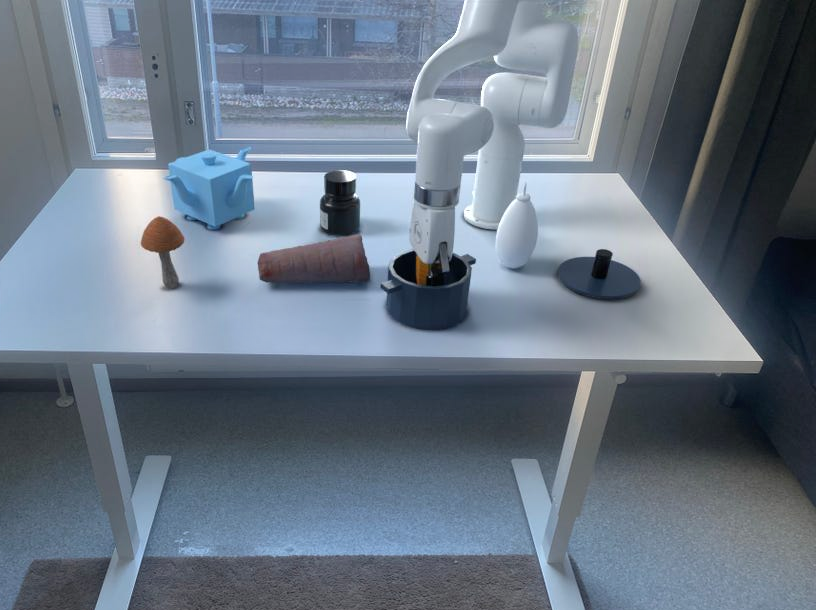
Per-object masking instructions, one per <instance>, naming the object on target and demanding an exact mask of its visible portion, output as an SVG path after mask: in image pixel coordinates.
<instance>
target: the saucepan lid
mask: <svg viewBox="0 0 816 610" xmlns="http://www.w3.org/2000/svg"><path fill="white" fill-rule="evenodd" d="M556 275H557V278H558V280H559V281H560V282H561V283H562V284H563V285H564V286H565V287H567V289H570V290H571V291H573V292H575V293H578V294H580V295H584V296H586V297H590V298H597V299H603V300H604V299H605V300H616V299H617V300H618V299H624V298H627V297H631V296H633V295H634V294H636V293H637V292H638V291H639V290H640V287H641V285H642V284H641V282H642V281H641V278H640V276H639V274H638V273H637V272H636V271H635V270H633V269H632V268H631V267H629V266H627V265H626V264H623V263H622V262H619V261H616V260H613V252H612V251H611V250H609V249H605V248H599V249H597V250H596V251H595V256H578V257H577V256H576V257H572V258H569V259H566V260H564V261H562V262H561V263H560V264H559V265H558V267H557V273H556Z"/></svg>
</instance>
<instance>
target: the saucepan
mask: <svg viewBox="0 0 816 610" xmlns="http://www.w3.org/2000/svg"><path fill="white" fill-rule="evenodd" d="M416 260H417V259H416V252H415V250H414V249H413V248H412V249H408V250H405V251H401V252H399V253H397V254H396V255H395V256H393V257H392V258H391V259H390V261H389V264H388V267H387V268H388V269H387V280H386V281H383V282H381V283H380V289H381V290H382V291H384V292H385V293H386V309H387V312H388V314H389V315H390V316H391V317H392V319H394V320H395V321H396V322H398V323H400V324H402V325H404V326H406V327H409V328H414V329H417V330H418V329H419V330H426V331H428V330H431V331H435V330H443V329H447V328H451V327H453V326H456V325H457V324H459V323H460V322H461V321H463V319H464V318H465V316H466V315H467V310H468V309H467V308H468V301H469V294H470V287H471V278H472V271H473V268H472V266H473V265H475V264H476V263H477V258H475V257H474V256H472V255H470V254H469V253H466V254H463V255H459V254H458V253H455V252H453V253H452V258H451V260H450V261H449V262H448V263H449V272H447V273H446V274H445V277H444V284H443V286H434V287H433V286H424V285H417V281H416V280H415V278H414V277H415V264H416Z"/></svg>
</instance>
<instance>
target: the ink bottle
mask: <svg viewBox="0 0 816 610" xmlns="http://www.w3.org/2000/svg"><path fill="white" fill-rule="evenodd" d="M323 180H324V181H323V183H324V184H323V187H324V188H323V189H324V194H323V195H322V196H321V198H320V200H319V228H320V229H321V231H322V232H324V233H326V234H329V235H334V236H350V235H353V234H354V233H356V232H358V230H359V229H360V227H361V199H360V197H359V196H358V195H357V194H356V190H357V175H356V173H354V172H352V171H350V170H342V169H337V170H332V171H327V172H326V173H325V174H324V176H323Z"/></svg>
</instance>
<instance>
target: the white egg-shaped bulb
mask: <svg viewBox="0 0 816 610" xmlns="http://www.w3.org/2000/svg"><path fill="white" fill-rule="evenodd" d="M526 192H527V182H525V183H524V185H523V189H522V192H520V193H517V196H516V199H515V200H514V201H513V202H512V203H511V204H510V205H509V207H508V208H507V210H506V211H505V213H504V215H503V217H502V219H501V221H500V224H499V227H498V230H496V236H495V252H496V255H497V258H498V261H499V262H500V263H501V264H503V266H504V267H506V268H508V269H519V268H520V267H523V266H524V265H526V264H527V262H528V261H529V260H530V258H531V257H532V255H533V254H534V251H535V248H536V246H537V241H538V232H539V229H538V227H539V225H538V217H537V212H536V209H535V206H534V204H533V202H532V200H531V195H530V194H528V193H526Z"/></svg>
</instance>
